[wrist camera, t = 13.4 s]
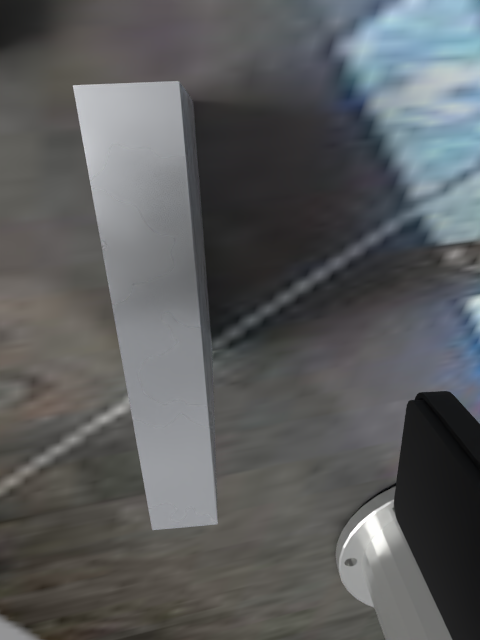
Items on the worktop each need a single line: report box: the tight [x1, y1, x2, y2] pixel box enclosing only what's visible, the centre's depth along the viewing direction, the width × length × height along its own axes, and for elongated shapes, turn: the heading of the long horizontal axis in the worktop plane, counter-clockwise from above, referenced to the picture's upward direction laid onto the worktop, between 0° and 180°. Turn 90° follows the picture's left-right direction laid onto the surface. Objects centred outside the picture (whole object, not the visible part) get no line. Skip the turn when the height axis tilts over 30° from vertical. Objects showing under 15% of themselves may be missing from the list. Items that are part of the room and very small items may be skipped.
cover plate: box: [73, 81, 218, 530], centre depth 16 cm, size 2×12×11 cm, turn 2°
